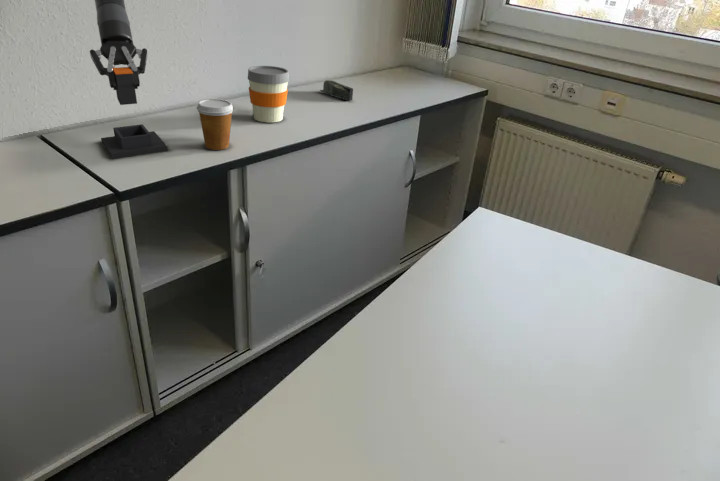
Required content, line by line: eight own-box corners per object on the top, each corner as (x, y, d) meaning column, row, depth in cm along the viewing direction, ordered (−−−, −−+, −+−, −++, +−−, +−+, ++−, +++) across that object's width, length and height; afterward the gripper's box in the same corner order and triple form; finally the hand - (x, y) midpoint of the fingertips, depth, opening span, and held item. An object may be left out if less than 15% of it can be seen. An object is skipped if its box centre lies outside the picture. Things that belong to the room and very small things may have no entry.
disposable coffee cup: (240, 149, 149) (239, 106, 143) (206, 154, 144) (204, 109, 138) (226, 138, 156) (225, 97, 150) (194, 142, 151) (191, 99, 145)
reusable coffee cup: (251, 124, 165) (250, 74, 158) (245, 112, 175) (244, 65, 168) (292, 123, 169) (293, 75, 162) (283, 112, 179) (284, 65, 172)
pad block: (120, 105, 137) (115, 73, 132) (117, 99, 140) (112, 67, 136) (137, 103, 138) (132, 72, 134) (133, 97, 142) (129, 67, 138)
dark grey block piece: (354, 87, 193) (324, 77, 201) (349, 88, 191) (319, 78, 199) (353, 101, 196) (323, 90, 204) (347, 102, 194) (318, 91, 201)
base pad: (111, 159, 138) (109, 142, 135) (101, 143, 146) (98, 127, 144) (167, 151, 145) (165, 135, 142) (154, 136, 153) (152, 120, 151)
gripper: (144, 35, 145) (155, 93, 142) (85, 36, 139) (95, 96, 136) (143, 18, 138) (155, 79, 135) (81, 18, 132) (92, 81, 129)
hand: (125, 87), depth 136 cm, fingers closed on pad block, 4 cm apart
